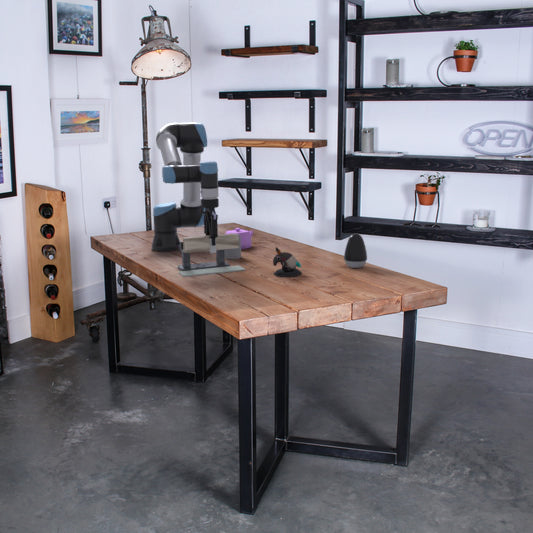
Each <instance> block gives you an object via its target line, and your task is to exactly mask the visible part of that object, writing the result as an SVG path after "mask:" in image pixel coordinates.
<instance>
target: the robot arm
mask: <svg viewBox="0 0 533 533" xmlns="http://www.w3.org/2000/svg"><path fill="white" fill-rule="evenodd" d="M156 134H157V135H156V138H155V142H156V147H157V149H159V151H160V153H161V157H162V161H163V164H164V166H162V170H161V171H162V172H161V173H162V174H161V175H162V176H161V178H162V182H163V183H165V184H171V185H173V184H182V185H183V187H182V190H183V191H182V194H183V196H182V197H183V198H182V199H181V200H180V201H179V202H180V203H179V204H177V203H176V202H174V201H173V202H165V203H160V204H157V205H155V206H153V208H152V209H153V210H152V211H153V212H152V213H153V214H152V216H153V230H154V235H153V238H152V242H151V251H156V252H172V251H179V250H180V242H181V240H180V237H179V235H178V229H180V228H181V229H182V228H198V227H203V232H204V234H205V236H207V235H210V237H209V240H210V251H209V253H210V254H216V237H218V235H219V232H218V231H219V230H218V229H219V228H218V224H219V223H218V220H219V218H218V217H219V215H218V214H217V212H216V208H219V206H220V204H219V196H220V194H219V168H218V162H216V161H215V160H214V161H213V160H212V161H211V160H210V161H207V160H206V161H202V160H201V159H202V158H201V155H202V154H203V153H204V148H206V147H208V135H207V130H206V127H205V125H204V124H203V123H201V122H172V123H168V124H166V125H164V126H163V127H162V128H161V129H160V130H159V131H158V133H156ZM178 149H179V150H180V152H181V153H182V160H183V161H181V156H180V153H179V150H178ZM182 162H183V163H182Z"/></svg>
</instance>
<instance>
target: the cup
mask: <svg viewBox="0 0 533 533" xmlns="http://www.w3.org/2000/svg"><path fill="white" fill-rule="evenodd" d="M224 252H225V259H227V260H237V259H241V258H242V249H241V237H240V236H239V248H234V249H226V250H224Z"/></svg>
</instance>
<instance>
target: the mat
mask: <svg viewBox="0 0 533 533" xmlns="http://www.w3.org/2000/svg"><path fill="white" fill-rule="evenodd" d="M242 271H243V272H245V271H246V268H244V267H243V266H241V265H230V266H227V267H218V268H208V269H198V270H189V271H181V270H179V271H178V274H179V275H180V276H182V277H183V278H187V277H196V276H206V275H213V274H224V273H232V272H242Z"/></svg>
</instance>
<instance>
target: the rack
mask: <svg viewBox="0 0 533 533" xmlns="http://www.w3.org/2000/svg"><path fill="white" fill-rule="evenodd" d="M179 250H180V252H181V265H177V269H178V270H179V271H189V270H198V269H208V268H218V267H227V266H231V264H230V263H229V262H227V261H226V260H225V252H224V250H226V249H223V250H216V253H215V256H216V257H215V258H216V261H211V262H200V263H191V253H185V252H184V251H183V241H180V249H179Z"/></svg>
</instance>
